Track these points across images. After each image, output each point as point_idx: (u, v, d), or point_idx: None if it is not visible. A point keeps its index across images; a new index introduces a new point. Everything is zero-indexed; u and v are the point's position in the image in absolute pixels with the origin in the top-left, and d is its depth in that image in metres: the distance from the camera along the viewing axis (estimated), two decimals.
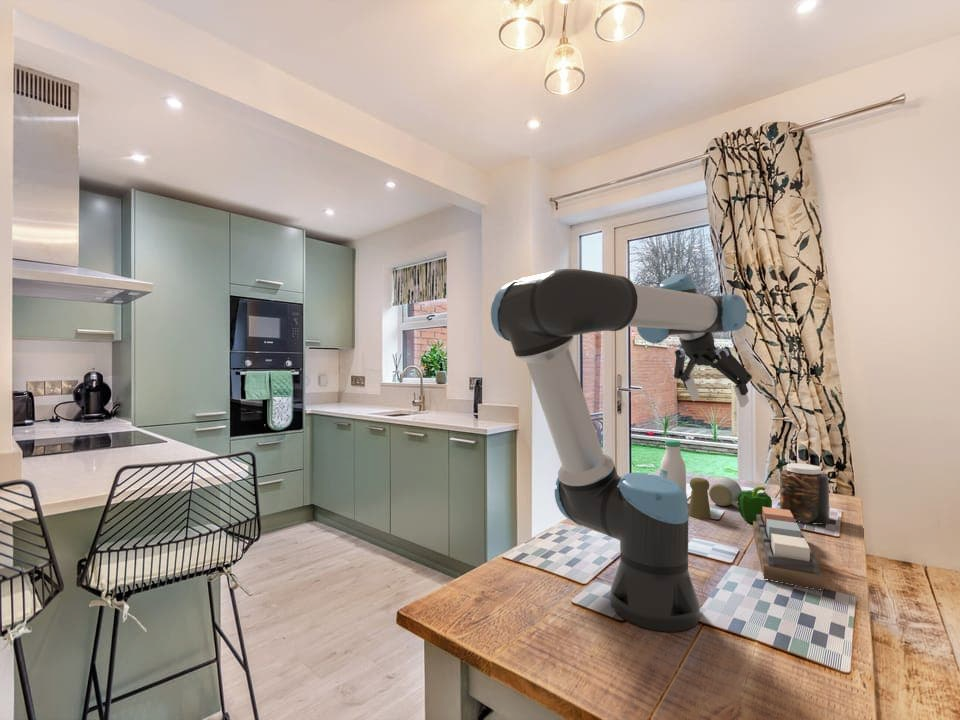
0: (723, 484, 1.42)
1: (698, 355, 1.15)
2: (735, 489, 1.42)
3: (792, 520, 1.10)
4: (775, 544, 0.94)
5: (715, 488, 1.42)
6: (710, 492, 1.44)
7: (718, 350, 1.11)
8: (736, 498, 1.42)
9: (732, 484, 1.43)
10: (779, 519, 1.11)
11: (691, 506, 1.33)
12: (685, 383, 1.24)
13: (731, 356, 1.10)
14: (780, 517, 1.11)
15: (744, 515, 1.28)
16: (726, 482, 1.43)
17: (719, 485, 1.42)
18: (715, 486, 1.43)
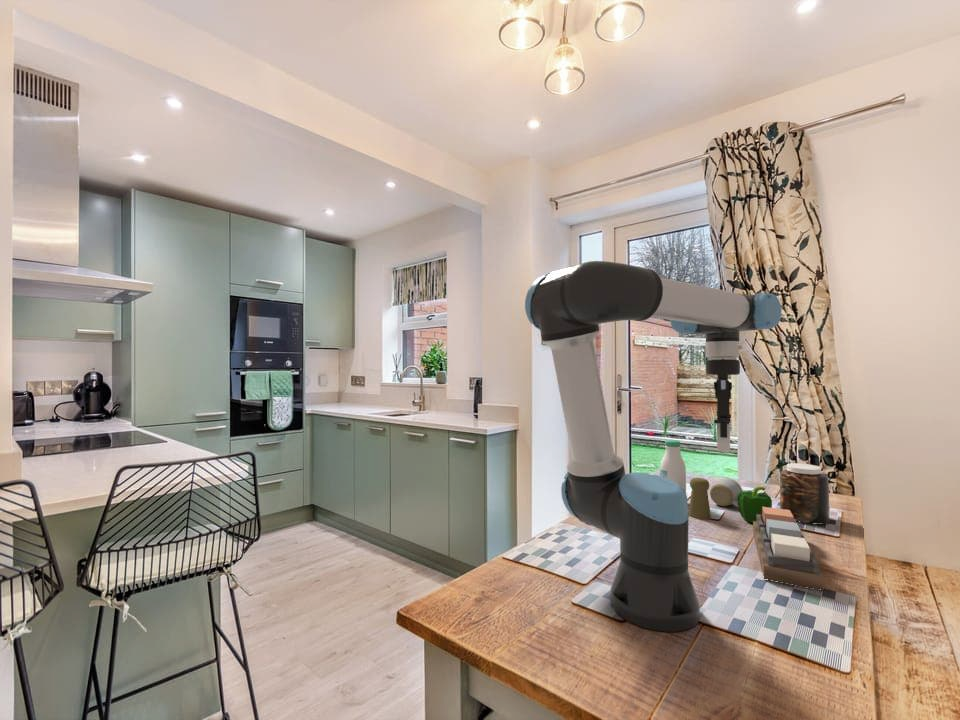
0: (724, 484, 1.42)
1: None
2: (736, 489, 1.42)
3: (792, 520, 1.10)
4: (775, 544, 0.94)
5: (716, 488, 1.42)
6: (711, 492, 1.44)
7: None
8: (737, 498, 1.41)
9: (733, 484, 1.43)
10: (779, 519, 1.11)
11: (691, 506, 1.33)
12: None
13: (726, 391, 1.07)
14: (780, 517, 1.11)
15: (744, 515, 1.28)
16: (727, 482, 1.43)
17: (720, 485, 1.42)
18: (716, 486, 1.42)
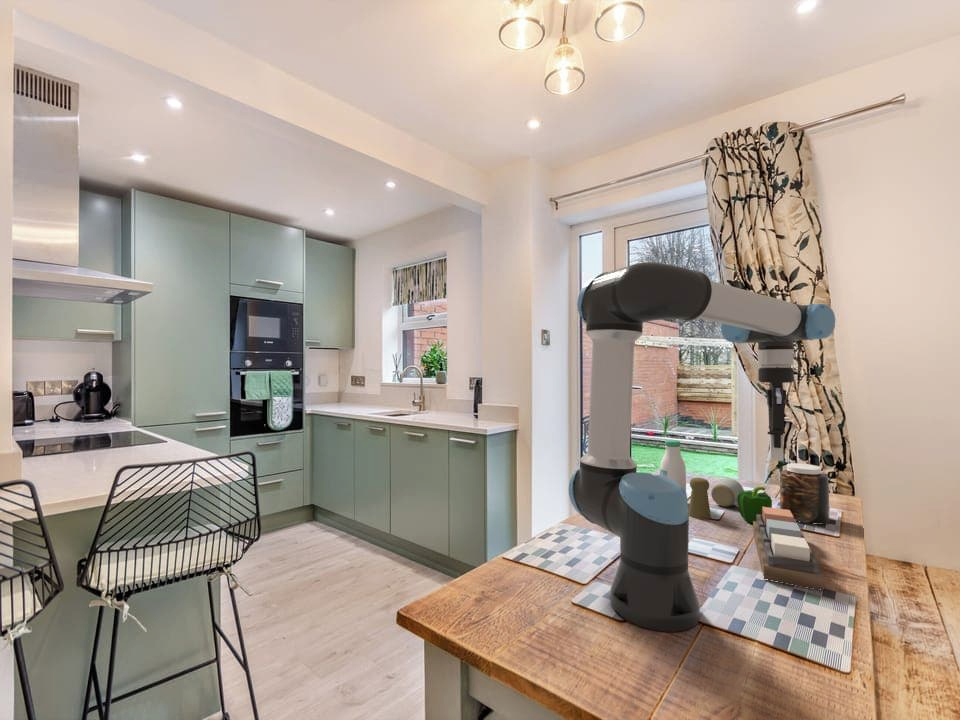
0: (725, 484, 1.41)
1: None
2: (737, 489, 1.41)
3: (792, 520, 1.10)
4: (775, 544, 0.94)
5: (718, 488, 1.42)
6: (712, 492, 1.43)
7: (778, 393, 1.10)
8: None
9: (734, 484, 1.42)
10: (779, 519, 1.11)
11: (691, 506, 1.33)
12: None
13: (781, 406, 1.09)
14: (780, 517, 1.11)
15: (744, 515, 1.28)
16: (728, 482, 1.43)
17: (721, 485, 1.41)
18: (717, 486, 1.42)
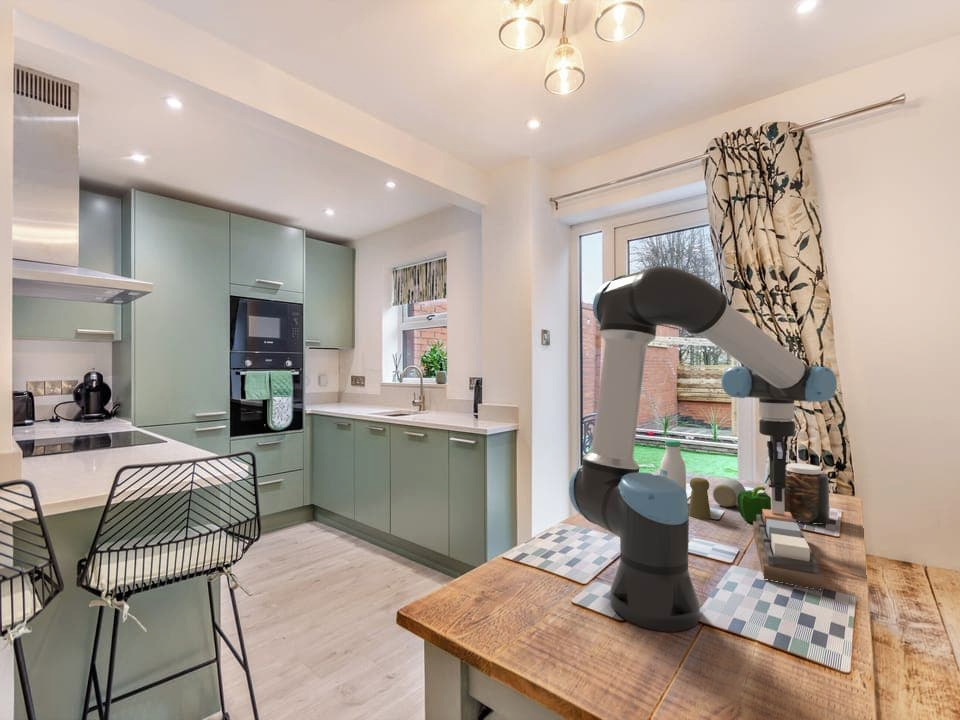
0: (727, 485, 1.41)
1: (771, 443, 1.15)
2: (739, 490, 1.41)
3: None
4: (775, 544, 0.94)
5: (719, 488, 1.42)
6: (714, 493, 1.43)
7: (779, 448, 1.10)
8: None
9: (736, 485, 1.42)
10: None
11: (691, 506, 1.33)
12: None
13: (782, 461, 1.09)
14: (780, 520, 1.11)
15: (744, 515, 1.28)
16: (730, 483, 1.42)
17: (723, 486, 1.41)
18: (719, 487, 1.42)
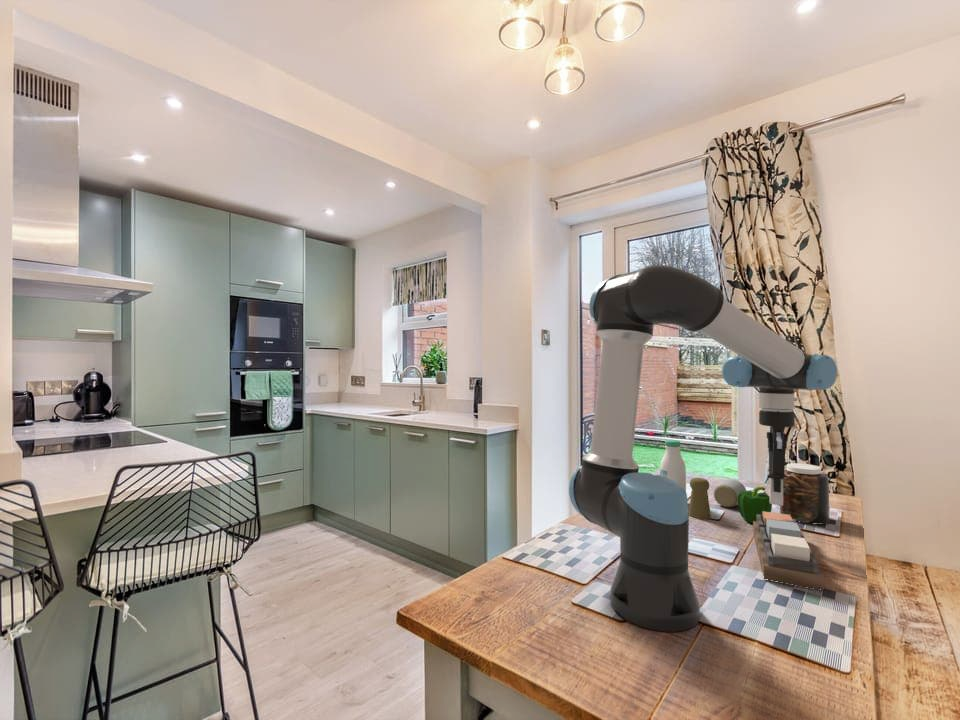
0: (728, 485, 1.41)
1: None
2: (740, 490, 1.41)
3: None
4: (775, 544, 0.94)
5: (720, 489, 1.41)
6: (715, 493, 1.43)
7: (778, 438, 1.10)
8: None
9: (737, 485, 1.42)
10: None
11: (691, 506, 1.33)
12: None
13: (782, 451, 1.09)
14: None
15: (744, 515, 1.28)
16: (731, 483, 1.42)
17: (724, 486, 1.41)
18: (720, 487, 1.41)
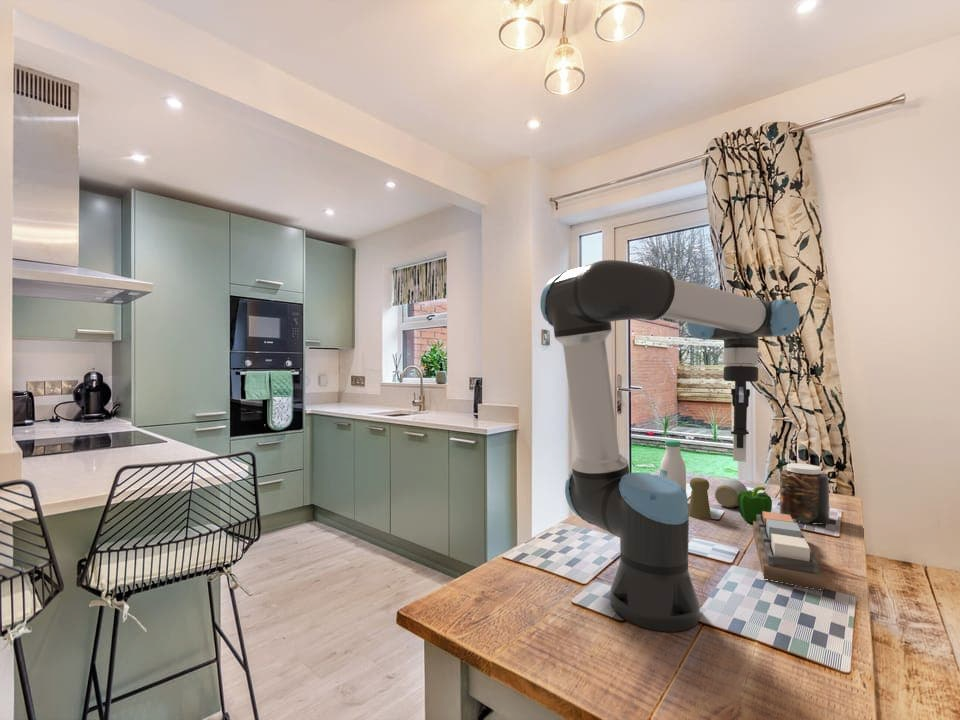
0: (729, 485, 1.40)
1: None
2: (741, 490, 1.41)
3: None
4: (775, 544, 0.94)
5: (721, 489, 1.41)
6: (716, 493, 1.42)
7: (740, 392, 1.08)
8: None
9: (738, 485, 1.42)
10: None
11: (691, 506, 1.33)
12: (733, 436, 1.13)
13: (744, 405, 1.07)
14: None
15: (744, 515, 1.28)
16: (732, 483, 1.42)
17: (725, 486, 1.40)
18: (721, 487, 1.41)
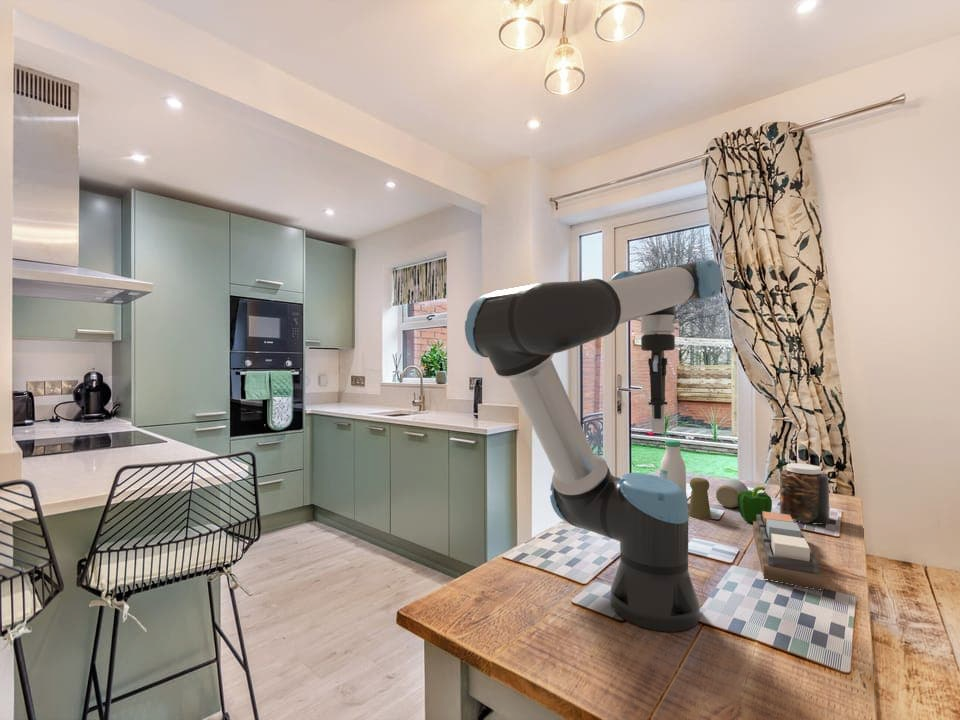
0: (730, 485, 1.40)
1: None
2: (742, 490, 1.40)
3: None
4: (775, 544, 0.94)
5: (722, 489, 1.41)
6: (717, 493, 1.42)
7: (655, 360, 1.05)
8: None
9: (739, 485, 1.41)
10: None
11: (691, 506, 1.33)
12: None
13: (658, 374, 1.04)
14: None
15: (744, 515, 1.28)
16: (733, 483, 1.42)
17: (726, 486, 1.40)
18: (722, 487, 1.41)
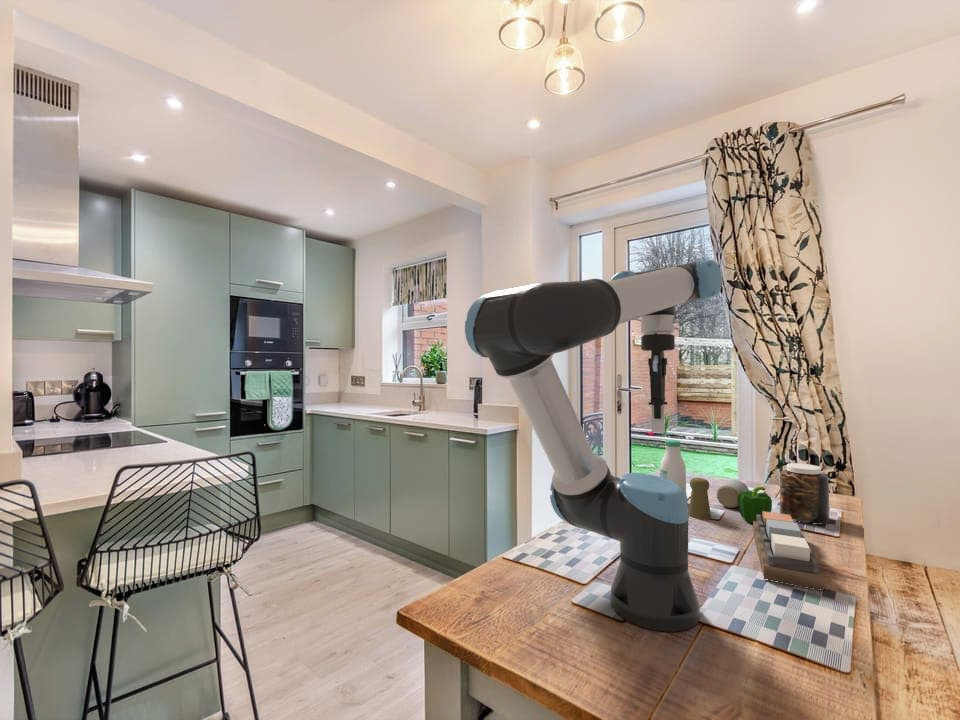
0: (731, 485, 1.40)
1: None
2: None
3: None
4: (775, 544, 0.94)
5: (723, 489, 1.41)
6: (718, 494, 1.42)
7: (655, 360, 1.05)
8: None
9: (740, 486, 1.41)
10: None
11: (691, 506, 1.33)
12: None
13: (658, 374, 1.04)
14: None
15: (744, 515, 1.28)
16: (734, 483, 1.42)
17: (727, 487, 1.40)
18: (723, 488, 1.41)
